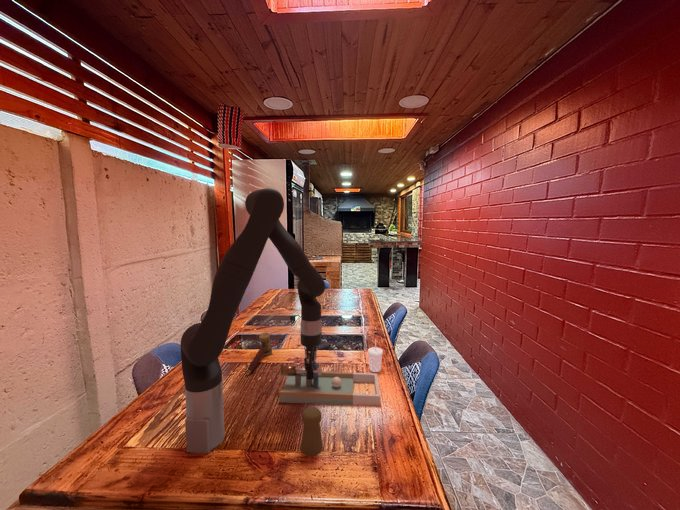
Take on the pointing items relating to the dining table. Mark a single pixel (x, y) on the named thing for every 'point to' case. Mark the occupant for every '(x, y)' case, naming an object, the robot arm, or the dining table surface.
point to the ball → (336, 381)
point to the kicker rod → (302, 372)
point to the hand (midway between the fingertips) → (311, 376)
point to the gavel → (261, 351)
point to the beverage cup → (375, 358)
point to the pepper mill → (311, 432)
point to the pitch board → (329, 389)
